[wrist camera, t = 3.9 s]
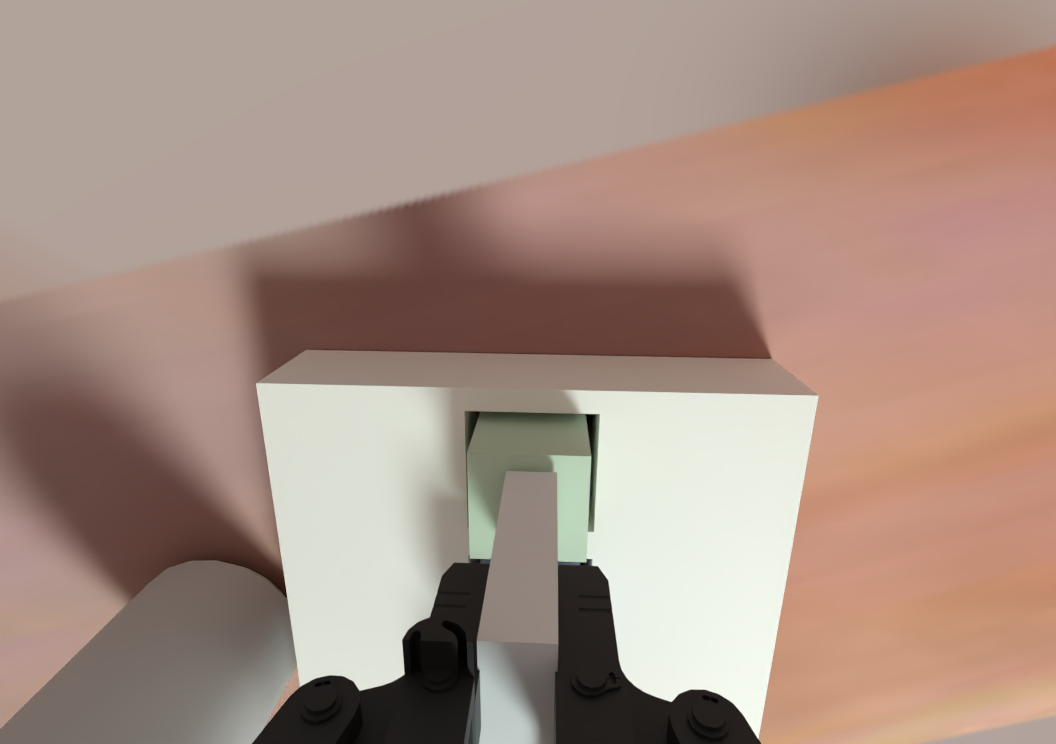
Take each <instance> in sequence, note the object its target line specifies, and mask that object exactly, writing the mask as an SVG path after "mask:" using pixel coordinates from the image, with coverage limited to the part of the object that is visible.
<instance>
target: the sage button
mask: <svg viewBox="0 0 1056 744" xmlns="http://www.w3.org/2000/svg"><path fill="white" fill-rule="evenodd" d="M506 471H525V472H557V522H558V561H560V562H586V560H587V538H588V517H589V496H590V474H591V450H590V443H589V436H588V429H587V422H586V414H572V413H529V412H487V411H480V414H479V417H478V420H477V423H476V426H475V430H474V433H473V436H472V439H471V442H470V445H469V448H468V451H467V475H468V511H469V548H470V559H491V555H492V549H493V543H494V538H495V532H496V526H497V520H498V514H499V509H500V503H501V497H502V491H503V485H504V480H505V474H506Z"/></svg>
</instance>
